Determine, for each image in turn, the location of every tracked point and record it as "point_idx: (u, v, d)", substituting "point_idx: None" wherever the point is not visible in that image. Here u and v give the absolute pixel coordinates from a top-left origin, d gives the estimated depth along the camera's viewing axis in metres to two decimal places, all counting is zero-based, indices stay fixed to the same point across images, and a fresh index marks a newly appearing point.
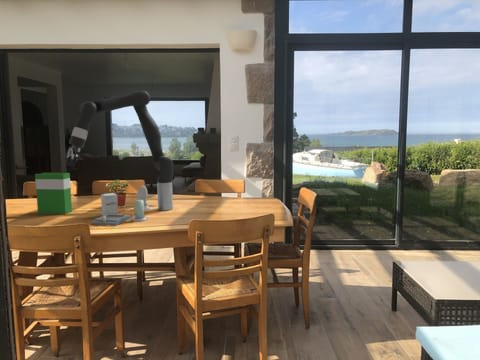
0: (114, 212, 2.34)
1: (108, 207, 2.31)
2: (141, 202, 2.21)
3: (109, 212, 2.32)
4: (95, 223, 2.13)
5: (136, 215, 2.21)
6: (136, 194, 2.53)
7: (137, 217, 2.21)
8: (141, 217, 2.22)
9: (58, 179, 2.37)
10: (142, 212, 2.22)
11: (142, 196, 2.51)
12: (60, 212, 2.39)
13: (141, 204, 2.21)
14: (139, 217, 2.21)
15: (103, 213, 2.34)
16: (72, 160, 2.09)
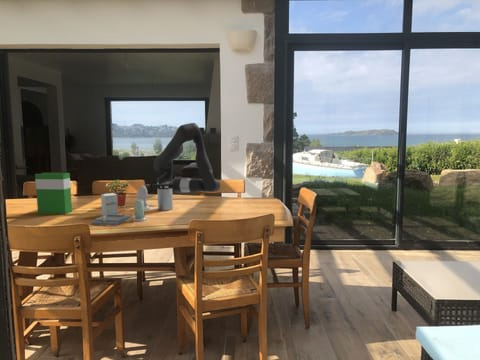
0: (114, 212, 2.34)
1: (108, 207, 2.31)
2: (141, 202, 2.21)
3: (109, 212, 2.32)
4: (95, 223, 2.13)
5: (136, 215, 2.21)
6: (136, 194, 2.53)
7: (137, 217, 2.21)
8: (141, 217, 2.22)
9: (58, 179, 2.37)
10: (142, 212, 2.22)
11: (142, 196, 2.51)
12: (60, 212, 2.39)
13: (141, 204, 2.21)
14: (139, 217, 2.21)
15: (103, 213, 2.34)
16: None
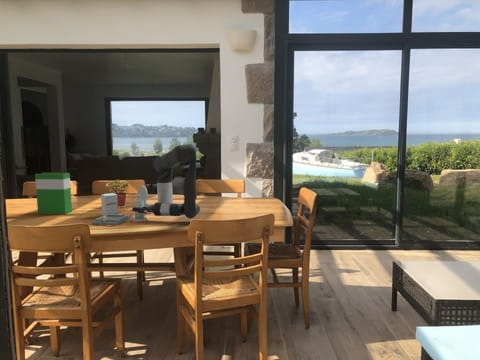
0: (114, 212, 2.34)
1: (108, 207, 2.31)
2: (141, 202, 2.21)
3: (109, 212, 2.32)
4: (95, 223, 2.13)
5: (136, 215, 2.21)
6: (136, 194, 2.53)
7: (137, 217, 2.21)
8: (141, 217, 2.22)
9: (58, 179, 2.37)
10: None
11: (142, 196, 2.51)
12: (60, 212, 2.39)
13: (141, 204, 2.21)
14: (139, 217, 2.21)
15: (103, 213, 2.34)
16: None
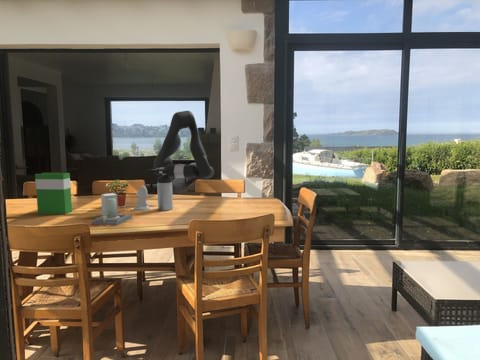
0: None
1: None
2: (113, 200, 2.17)
3: None
4: (95, 223, 2.13)
5: (108, 214, 2.18)
6: (136, 194, 2.53)
7: (109, 216, 2.18)
8: (113, 216, 2.18)
9: (58, 179, 2.37)
10: (114, 211, 2.18)
11: (142, 196, 2.51)
12: (60, 212, 2.39)
13: (113, 202, 2.17)
14: (111, 216, 2.18)
15: (103, 213, 2.34)
16: None
